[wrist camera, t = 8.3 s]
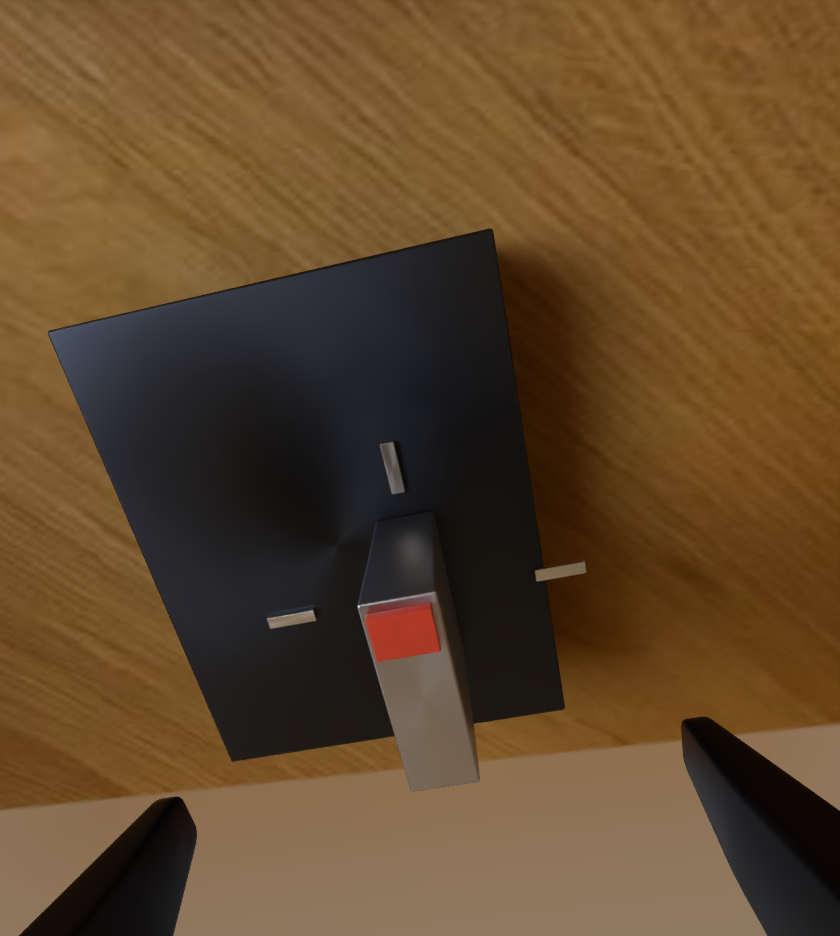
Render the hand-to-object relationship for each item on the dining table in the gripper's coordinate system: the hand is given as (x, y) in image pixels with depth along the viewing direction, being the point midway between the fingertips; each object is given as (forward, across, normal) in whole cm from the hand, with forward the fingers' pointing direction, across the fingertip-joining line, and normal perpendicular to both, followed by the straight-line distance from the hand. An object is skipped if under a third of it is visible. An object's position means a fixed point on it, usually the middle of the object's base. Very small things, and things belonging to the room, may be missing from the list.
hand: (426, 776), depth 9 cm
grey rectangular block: (+6, 0, 0) cm, 6 cm away
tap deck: (+9, +2, -2) cm, 9 cm away
